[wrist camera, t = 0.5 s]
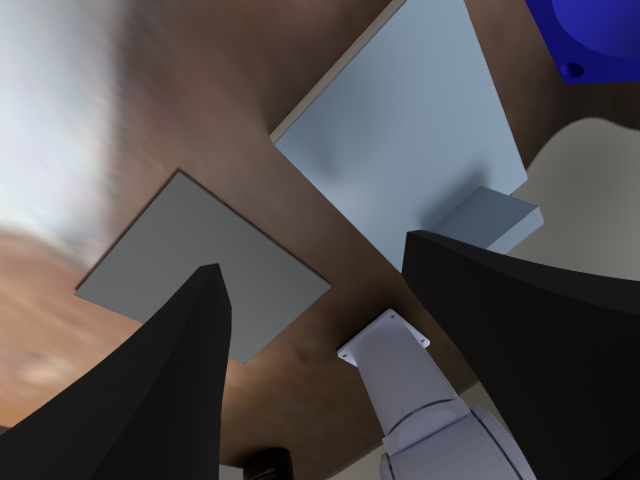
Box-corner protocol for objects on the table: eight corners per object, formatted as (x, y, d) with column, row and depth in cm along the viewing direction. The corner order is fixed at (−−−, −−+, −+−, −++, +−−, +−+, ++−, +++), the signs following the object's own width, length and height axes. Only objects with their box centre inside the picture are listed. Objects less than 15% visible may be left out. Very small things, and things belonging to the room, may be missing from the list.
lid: (508, 173, 19) (593, 197, 14) (397, 268, 21) (440, 317, 16) (425, -28, 12) (537, -109, 8) (271, 141, 14) (282, 160, 9)
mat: (330, 284, 23) (331, 286, 23) (244, 360, 25) (244, 364, 25) (180, 170, 16) (178, 171, 16) (76, 291, 18) (73, 294, 18)
